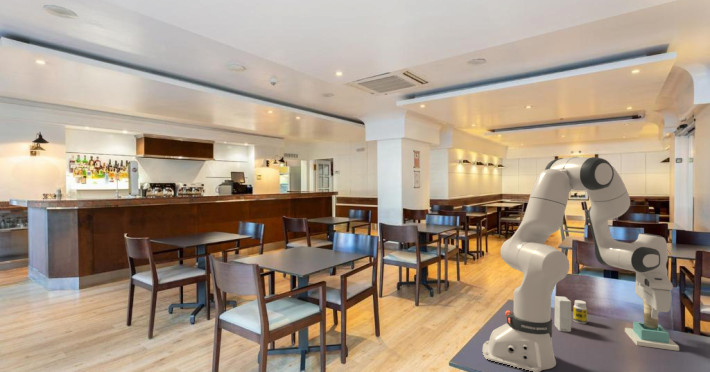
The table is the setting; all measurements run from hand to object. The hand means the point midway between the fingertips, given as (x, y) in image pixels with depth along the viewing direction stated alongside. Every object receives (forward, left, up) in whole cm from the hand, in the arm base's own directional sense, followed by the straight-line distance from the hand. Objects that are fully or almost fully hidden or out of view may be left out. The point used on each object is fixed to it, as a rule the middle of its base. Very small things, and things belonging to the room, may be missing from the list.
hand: (650, 315), depth 130 cm
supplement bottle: (-20, +11, -10) cm, 25 cm away
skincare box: (-28, +1, -10) cm, 30 cm away
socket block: (0, 0, -9) cm, 9 cm away
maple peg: (0, 0, -4) cm, 4 cm away
